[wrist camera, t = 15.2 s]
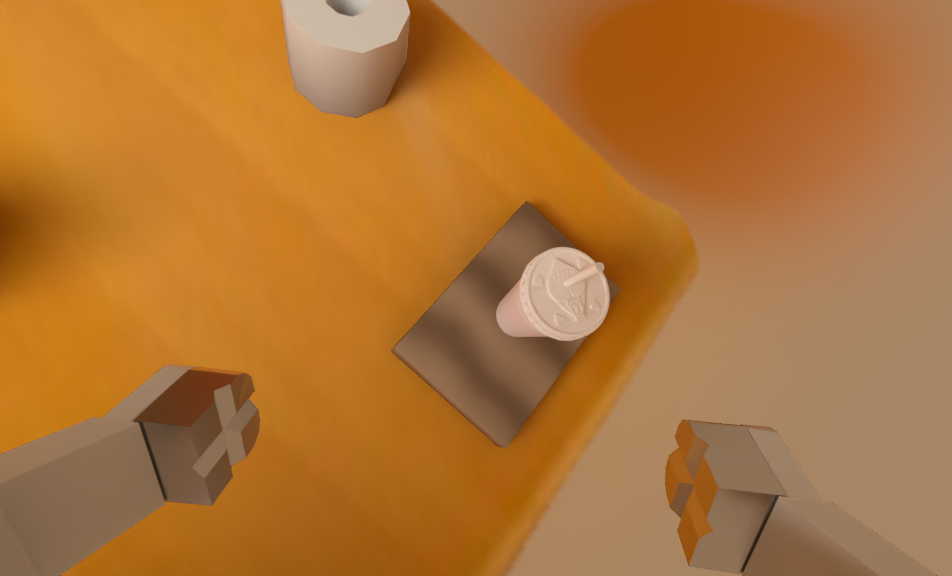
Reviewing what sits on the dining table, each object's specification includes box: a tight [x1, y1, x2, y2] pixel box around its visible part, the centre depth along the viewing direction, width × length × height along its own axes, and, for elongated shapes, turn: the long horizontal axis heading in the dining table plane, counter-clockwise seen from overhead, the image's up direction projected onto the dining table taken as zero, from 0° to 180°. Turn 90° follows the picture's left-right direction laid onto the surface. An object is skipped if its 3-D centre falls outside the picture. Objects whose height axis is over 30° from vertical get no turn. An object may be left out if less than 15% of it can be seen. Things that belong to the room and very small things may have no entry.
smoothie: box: [496, 247, 610, 341], centre depth 35 cm, size 6×6×14 cm
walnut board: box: [391, 201, 621, 448], centre depth 42 cm, size 18×12×2 cm, turn 140°
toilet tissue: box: [281, 0, 410, 118], centre depth 40 cm, size 9×13×9 cm
